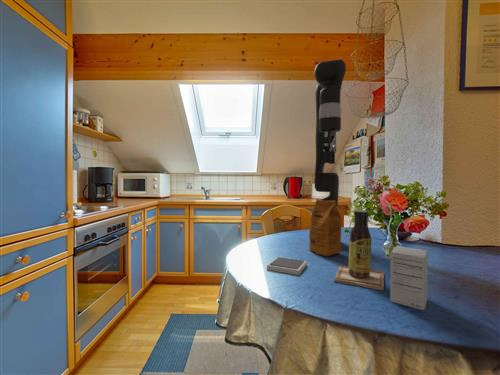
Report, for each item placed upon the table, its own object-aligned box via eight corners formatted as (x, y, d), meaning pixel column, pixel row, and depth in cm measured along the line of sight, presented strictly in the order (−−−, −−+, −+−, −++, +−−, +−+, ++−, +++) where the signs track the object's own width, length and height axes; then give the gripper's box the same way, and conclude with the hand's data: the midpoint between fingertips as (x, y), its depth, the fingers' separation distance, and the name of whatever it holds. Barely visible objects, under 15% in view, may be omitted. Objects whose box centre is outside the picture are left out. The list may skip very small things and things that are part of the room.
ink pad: (277, 261, 95) (277, 256, 95) (306, 265, 90) (306, 260, 90) (266, 269, 86) (266, 264, 86) (298, 275, 81) (298, 269, 81)
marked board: (340, 268, 87) (340, 265, 87) (383, 274, 81) (383, 271, 81) (334, 281, 75) (334, 278, 75) (383, 290, 70) (383, 286, 70)
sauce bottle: (357, 280, 75) (357, 212, 74) (344, 272, 81) (344, 210, 80) (375, 277, 76) (376, 211, 76) (361, 270, 82) (362, 209, 82)
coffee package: (323, 247, 113) (323, 197, 112) (344, 254, 102) (345, 200, 101) (305, 250, 109) (305, 198, 108) (325, 258, 98) (325, 201, 97)
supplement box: (394, 291, 69) (395, 245, 69) (427, 299, 64) (428, 249, 64) (388, 301, 63) (389, 251, 63) (424, 311, 59) (425, 257, 58)
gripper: (323, 122, 99) (322, 164, 100) (314, 115, 87) (314, 162, 87) (343, 120, 96) (343, 164, 96) (337, 112, 83) (337, 162, 84)
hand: (329, 163), depth 92 cm, fingers open, 8 cm apart
